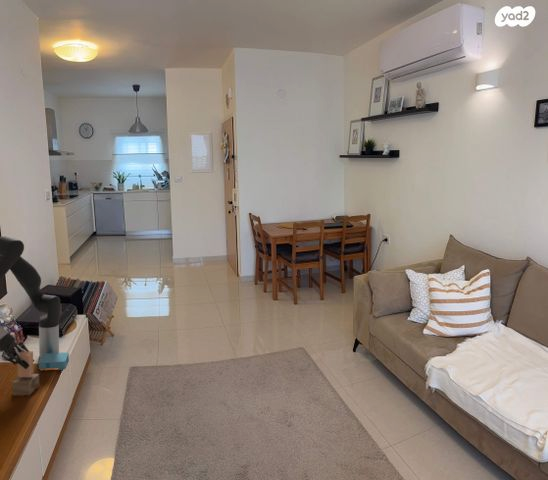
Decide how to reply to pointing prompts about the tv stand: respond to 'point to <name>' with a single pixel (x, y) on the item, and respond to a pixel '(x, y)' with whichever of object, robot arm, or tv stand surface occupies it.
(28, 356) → the terracotta block
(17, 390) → the grey brown block
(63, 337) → the tv stand surface
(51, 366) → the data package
